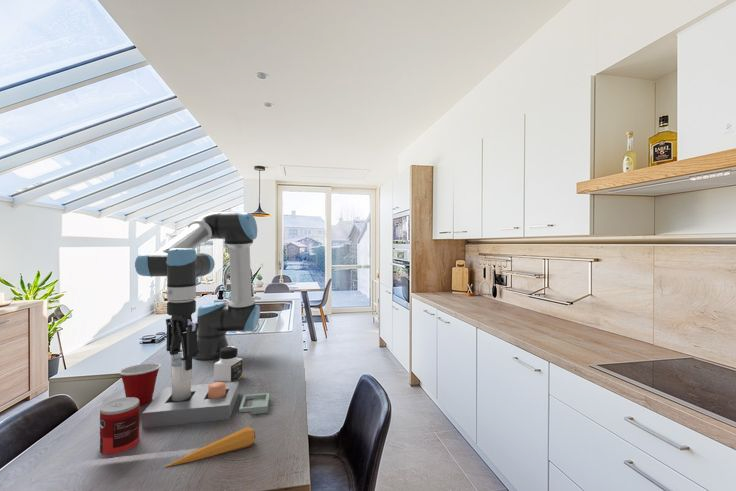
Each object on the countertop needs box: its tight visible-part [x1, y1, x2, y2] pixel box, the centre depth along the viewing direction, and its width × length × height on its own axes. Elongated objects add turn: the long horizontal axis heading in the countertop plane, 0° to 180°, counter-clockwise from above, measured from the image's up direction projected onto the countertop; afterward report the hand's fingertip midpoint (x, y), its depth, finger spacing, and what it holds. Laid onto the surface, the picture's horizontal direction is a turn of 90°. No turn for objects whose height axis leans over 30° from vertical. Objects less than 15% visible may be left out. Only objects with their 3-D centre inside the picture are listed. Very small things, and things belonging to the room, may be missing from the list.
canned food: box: [99, 396, 141, 458], centre depth 81 cm, size 8×8×11 cm
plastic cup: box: [118, 362, 161, 407], centre depth 102 cm, size 11×11×12 cm
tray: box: [238, 392, 270, 415], centre depth 102 cm, size 9×8×2 cm
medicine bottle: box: [213, 345, 243, 383], centre depth 122 cm, size 7×7×12 cm
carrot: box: [163, 427, 256, 468], centre depth 79 cm, size 20×4×4 cm, turn 120°
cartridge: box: [170, 357, 192, 401], centre depth 98 cm, size 5×5×11 cm
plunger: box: [208, 381, 227, 399], centre depth 100 cm, size 5×5×6 cm
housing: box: [141, 381, 240, 429], centre depth 98 cm, size 16×22×5 cm
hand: (181, 377), depth 98 cm, fingers closed on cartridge, 5 cm apart
